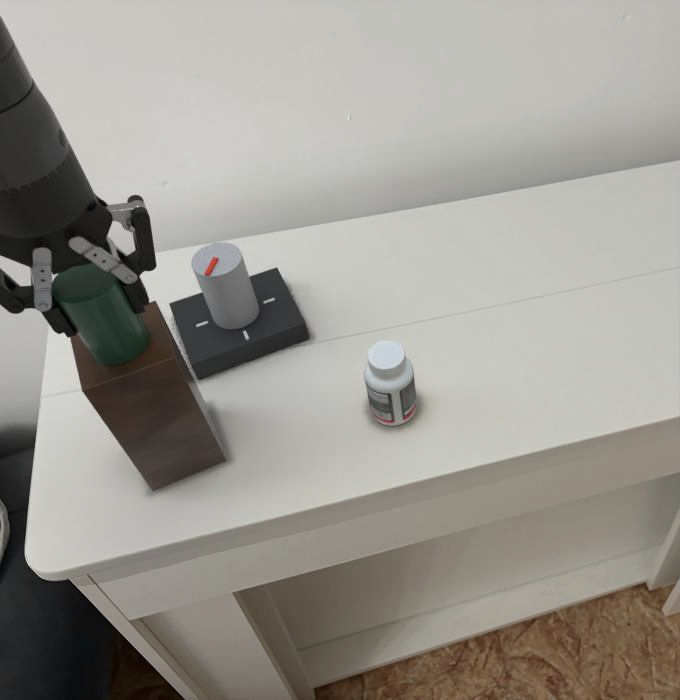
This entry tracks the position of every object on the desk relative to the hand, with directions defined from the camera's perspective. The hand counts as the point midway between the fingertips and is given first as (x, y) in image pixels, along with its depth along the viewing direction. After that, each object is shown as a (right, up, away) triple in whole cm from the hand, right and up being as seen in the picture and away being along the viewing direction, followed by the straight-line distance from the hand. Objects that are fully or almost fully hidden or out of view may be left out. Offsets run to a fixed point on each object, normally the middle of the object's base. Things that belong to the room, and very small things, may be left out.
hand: (105, 317), depth 62 cm
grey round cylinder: (+3, +2, +25) cm, 26 cm away
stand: (0, -14, +17) cm, 21 cm away
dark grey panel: (+3, 0, +28) cm, 28 cm away
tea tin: (0, -2, +3) cm, 3 cm away
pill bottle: (+23, -10, +20) cm, 32 cm away
